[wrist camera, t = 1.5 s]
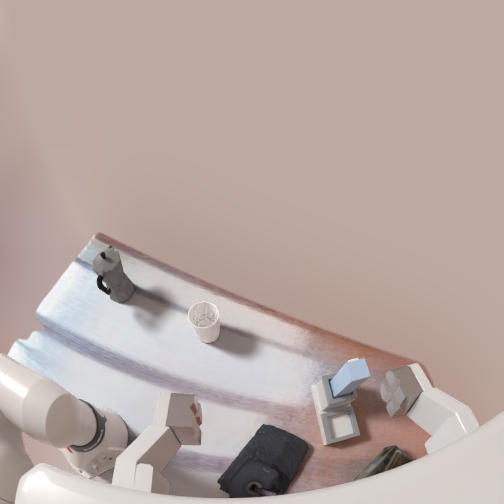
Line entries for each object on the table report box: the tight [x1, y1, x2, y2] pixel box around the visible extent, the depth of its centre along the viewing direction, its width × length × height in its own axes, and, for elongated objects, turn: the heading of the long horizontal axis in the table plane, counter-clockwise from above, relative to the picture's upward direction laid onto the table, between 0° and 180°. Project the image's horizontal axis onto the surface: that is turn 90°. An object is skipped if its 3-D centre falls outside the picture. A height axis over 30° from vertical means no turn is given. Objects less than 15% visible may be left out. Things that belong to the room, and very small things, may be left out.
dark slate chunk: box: [217, 424, 308, 498], centre depth 48 cm, size 15×22×5 cm
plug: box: [329, 358, 370, 398], centre depth 51 cm, size 5×4×13 cm
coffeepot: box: [93, 246, 134, 303], centre depth 76 cm, size 15×9×18 cm, turn 3°
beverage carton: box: [354, 445, 412, 481], centre depth 42 cm, size 8×19×7 cm, turn 128°
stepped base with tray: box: [311, 373, 360, 445], centre depth 55 cm, size 16×8×10 cm, turn 8°
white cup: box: [188, 302, 220, 343], centre depth 72 cm, size 8×8×10 cm
